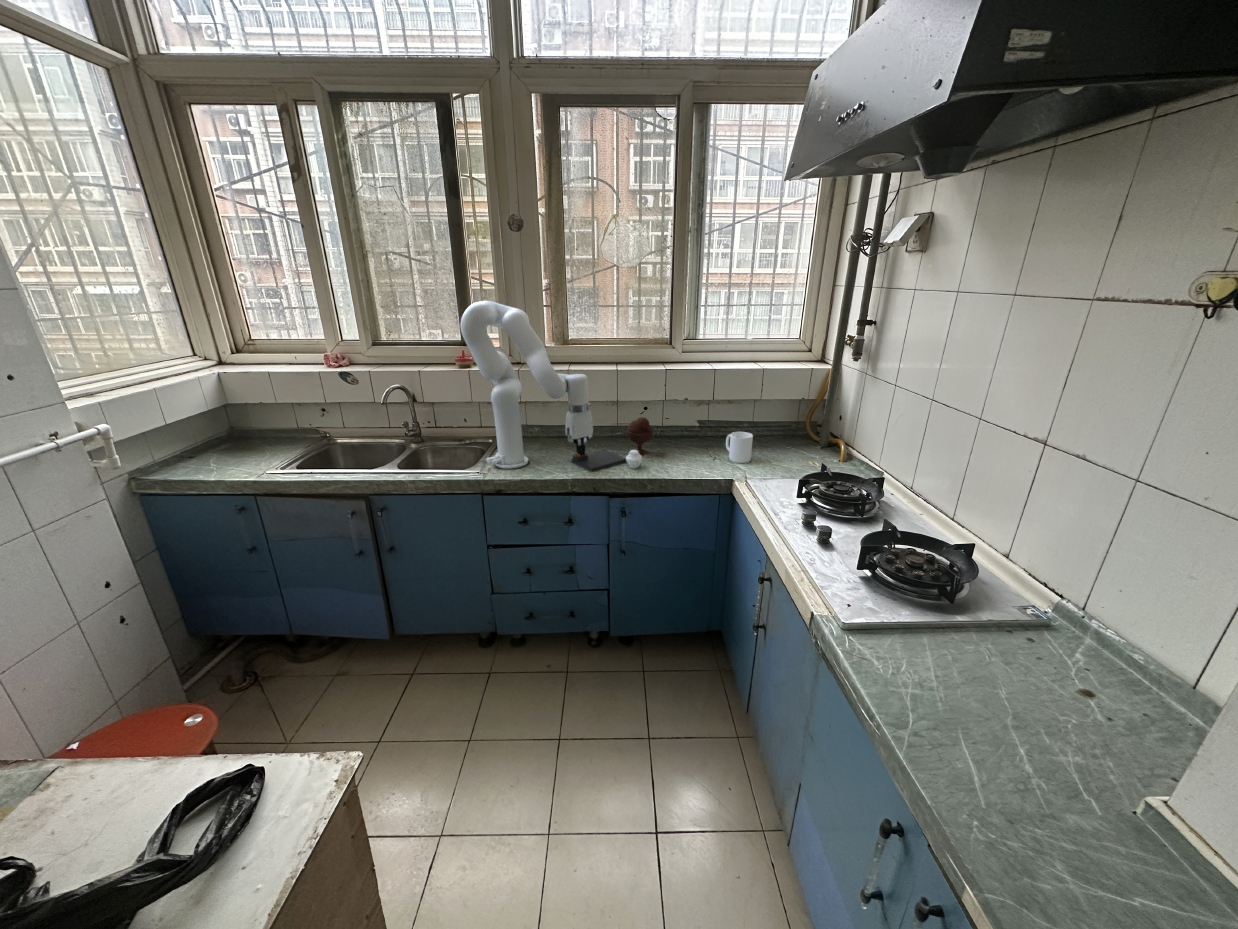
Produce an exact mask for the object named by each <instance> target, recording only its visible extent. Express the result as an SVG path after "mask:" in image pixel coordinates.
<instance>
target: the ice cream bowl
mask: <svg viewBox="0 0 1238 929" xmlns="http://www.w3.org/2000/svg"><path fill="white" fill-rule="evenodd" d="M653 435H654V428H652V426H651V425H650V421H649V419H647V418H646V417H644V416H642V417H641V416H640V417H638V418H637V419H636V420H633V421H631V422H630V423H629V424H628V427H627V428H626V436H627V438H628V439H629V440H630V441H631V442H633V443H634V444H637V448H636V449H635V450H637V451H638V452H639V454H640V455H641V456H642V455H645V454H647V450H645V449H643V444H646V443H647V442H649V441H650V440H651V439H652V437H653Z"/></svg>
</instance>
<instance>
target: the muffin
mask: <svg viewBox="0 0 1238 929" xmlns="http://www.w3.org/2000/svg"><path fill="white" fill-rule="evenodd" d="M625 459H626V463H627V466H628V467H629V468H630V469H638V468H639V467H640V465H641V463H642V460H643V456H642V455H640V454H639V452H638V451H637V450H636V449H631V450H629V452H628V454H627V455H626V456H625Z"/></svg>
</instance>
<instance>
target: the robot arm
mask: <svg viewBox="0 0 1238 929" xmlns="http://www.w3.org/2000/svg"><path fill="white" fill-rule="evenodd" d="M488 326H491V327H494V328H498V329H501V330H504V332H505V333H506V335H507V336H508V337H509V339H510V340H511V342H512V343H513V345H514V346H515V347H516V349H517V350H518V351H519V353H520V355H521V356H522V357H523V359H524V361H525V364H526V365H527V367H528V368H529V371H530V373H531V374H532V376H533V378H534V379H535V381H536V382H537V383H538V385H539V386H540V388H541V389H542V391H543V392H544V393H545V394H546V396H547V397H549V398H551V399H552V400H553V399H554V400H556V399H557V400H558V399H560V398H563V396H564V395H565V393H567V402H568V404H567V405H568V411H566V416H565V424H564V425H565V427H564V428H565V436H566V437H567V442H568V443H574V445H575V447H576V450H575V451H576V453H577V454H579V455H585V453H586V445H587V442H588V440H590V439H591V438H593V434H594V422H593V416H592V412H591V409H590V407H591V406H592V403H591V402H590V401H589V380H588V378H589V377H588V376H587V375H586V374H583V373H573V374H568V373H559V372H556V370H555V369H554V367H553V365H552V364H551V361H550V358H549V356H548V353H547V349H546V347H545V345H544V343H543V342H542V340H541V338H540V337H539V336H538V334H537V333H536V331H535V330H534V329H533V327H532V325H531V324H530V317H529V316H528V314H527V313H526V312H525V311H524V310H523V309H520V308H517V307H514V306H513V307H512V306H509V305H505V304H502V303H498V302H494V301H492V300H480V301H476V302H473V303H472V304H470V305H469V306H468V307H467V308H466V309H465V310H464V312H463V314H462V315H461V319H460V333H461V335H462V337H463V340H464V342H465V344H466V346H467V348H468V350H469V352H470V354H471V356H472V359H473V360H474V362H475V364H476V367H477V368H478V371H479V373H480V374H481V377H483V378H484V379H485V380H487V381H490V382H492V383H493V385H494V387H493V389H491V390H492V391H491V393H490V394H491V395H490V401H491V407H492V411H493V416H494V426H495V435H496V436H495V437H496V445H497V446H496V447H497V452H495V455H493V456H490V457H486V459H485V461H486V463H487V464H491V463H492V464H494V465H495V466H496V467H497V468H499V469H508V470H510V469H511V470H512V469H518V468H521V467H525V466H526V465H527V464H529V457H527V456H526V455H525V454H524V444H523V443H524V441H523V428H522V419H521V411H520V403H519V401H520V400H519V399H520V398H521V396H522V393H523V387H522V383H521V381H520V379H519V376H518V375H517V373H516V371H515V369H514V367H513V365H512V363H511V361H510V359H509V357H508V356H507V355H506V354H505V353H504V352H502V351H499V350H497V348H496V347H495V344H494V342H493V340H492V338H491V337H490V335H489V333H487V327H488Z"/></svg>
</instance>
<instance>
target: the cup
mask: <svg viewBox="0 0 1238 929" xmlns="http://www.w3.org/2000/svg"><path fill="white" fill-rule="evenodd" d="M753 438H754V435H753V434H752V433H750V432H746V431H733V432H730V433H729V434H727V436H726V438H725V448H726V450H727V451H728V460H729V461H730V462H731V463H732V462H733V463H736V464H747V463H749V462H750V461H751V460H752V449H753Z"/></svg>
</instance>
